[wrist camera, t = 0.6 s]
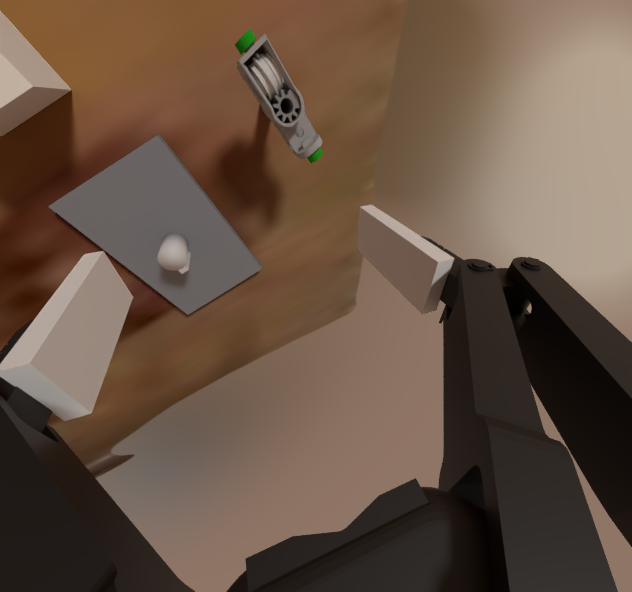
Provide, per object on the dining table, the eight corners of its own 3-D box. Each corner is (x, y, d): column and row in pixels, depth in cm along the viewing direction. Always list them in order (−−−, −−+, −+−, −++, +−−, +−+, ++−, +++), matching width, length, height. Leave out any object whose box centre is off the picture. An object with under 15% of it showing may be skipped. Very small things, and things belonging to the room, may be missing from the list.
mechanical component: (284, 153, 33) (308, 169, 25) (222, 64, 26) (229, 49, 19) (302, 137, 32) (331, 148, 25) (243, 42, 26) (259, 18, 18)
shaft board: (54, 202, 28) (25, 221, 24) (159, 134, 28) (149, 140, 23) (188, 309, 41) (186, 334, 37) (260, 264, 41) (267, 284, 36)
